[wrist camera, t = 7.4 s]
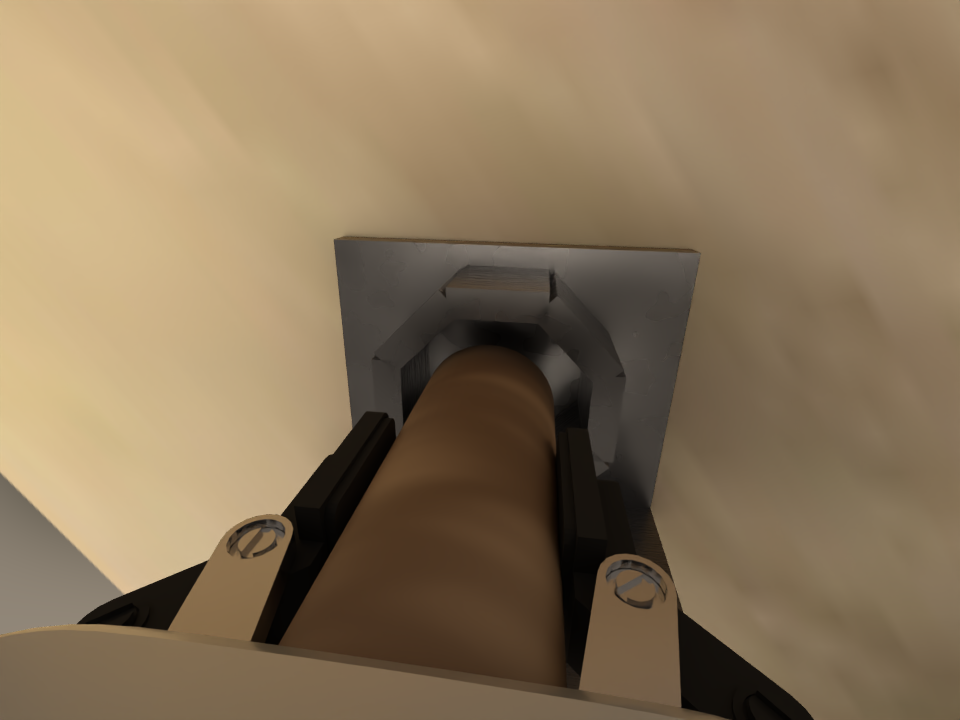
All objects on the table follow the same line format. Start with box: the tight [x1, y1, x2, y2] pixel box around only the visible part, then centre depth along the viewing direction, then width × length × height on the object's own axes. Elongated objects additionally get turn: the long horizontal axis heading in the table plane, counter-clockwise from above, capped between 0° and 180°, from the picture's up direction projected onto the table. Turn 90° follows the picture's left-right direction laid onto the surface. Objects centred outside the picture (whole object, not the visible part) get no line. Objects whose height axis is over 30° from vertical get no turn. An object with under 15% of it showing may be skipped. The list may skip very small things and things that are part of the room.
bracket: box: [334, 237, 701, 690], centre depth 16 cm, size 13×14×10 cm
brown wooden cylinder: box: [279, 345, 567, 688], centre depth 9 cm, size 4×4×14 cm
